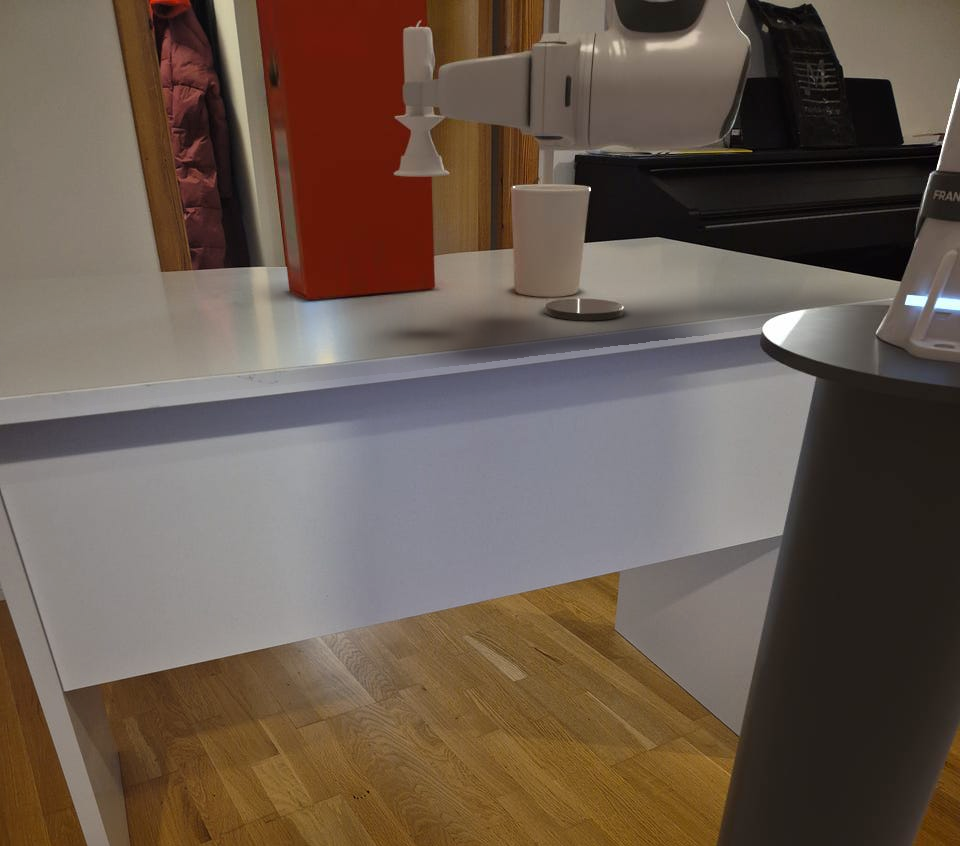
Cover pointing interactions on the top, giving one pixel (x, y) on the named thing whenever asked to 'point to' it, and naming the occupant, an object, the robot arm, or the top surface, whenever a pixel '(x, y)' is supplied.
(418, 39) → the candle
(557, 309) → the slate coaster
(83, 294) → the top surface
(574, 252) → the white tapered cup
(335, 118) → the file binder
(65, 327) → the top surface
